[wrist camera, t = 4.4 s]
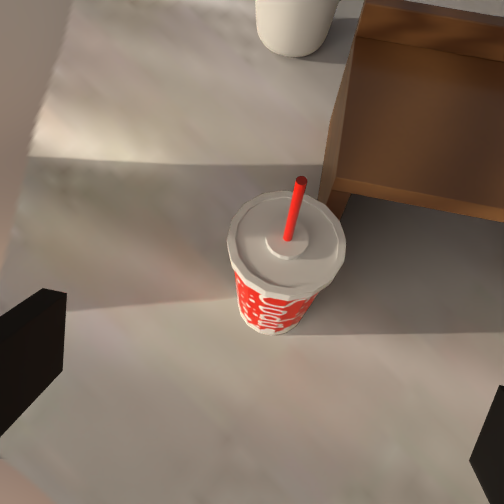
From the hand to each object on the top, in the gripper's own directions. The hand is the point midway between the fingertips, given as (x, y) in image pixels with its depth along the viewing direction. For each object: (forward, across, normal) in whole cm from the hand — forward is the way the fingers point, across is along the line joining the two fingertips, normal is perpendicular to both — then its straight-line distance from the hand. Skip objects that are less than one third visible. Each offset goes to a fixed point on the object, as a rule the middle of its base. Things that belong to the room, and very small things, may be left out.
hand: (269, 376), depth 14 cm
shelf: (+24, +10, +3) cm, 27 cm away
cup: (+37, -2, +15) cm, 40 cm away
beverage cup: (+17, 0, -5) cm, 18 cm away
